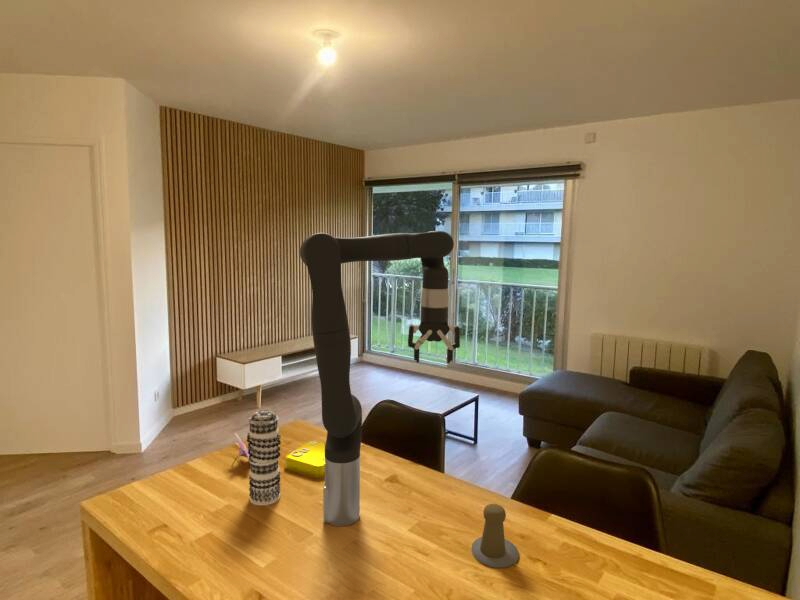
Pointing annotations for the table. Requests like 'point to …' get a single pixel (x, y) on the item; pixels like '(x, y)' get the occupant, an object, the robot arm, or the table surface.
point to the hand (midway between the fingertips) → (433, 362)
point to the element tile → (307, 459)
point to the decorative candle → (264, 458)
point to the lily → (242, 449)
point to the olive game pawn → (493, 532)
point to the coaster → (502, 562)
